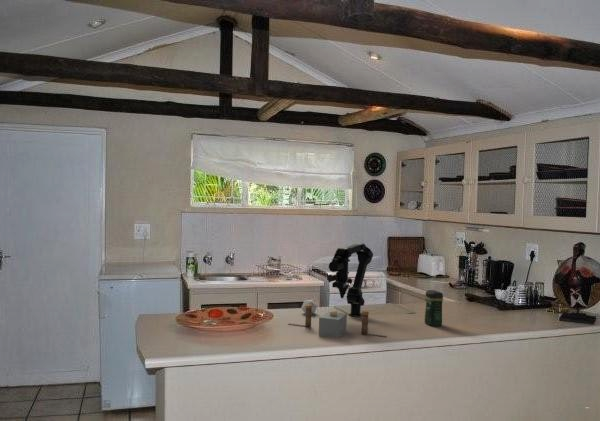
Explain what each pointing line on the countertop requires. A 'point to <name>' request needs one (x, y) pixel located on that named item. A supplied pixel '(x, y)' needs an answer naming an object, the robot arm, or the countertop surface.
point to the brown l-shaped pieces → (364, 321)
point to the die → (309, 302)
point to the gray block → (332, 324)
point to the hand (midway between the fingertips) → (342, 298)
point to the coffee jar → (433, 308)
